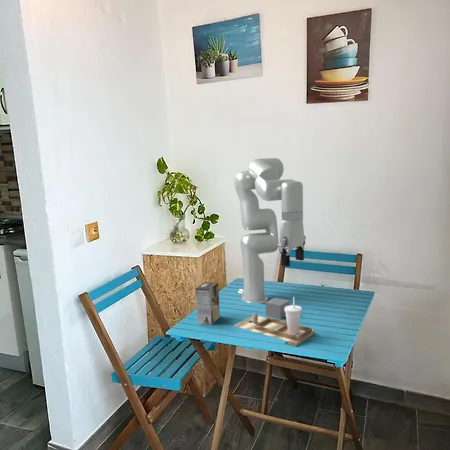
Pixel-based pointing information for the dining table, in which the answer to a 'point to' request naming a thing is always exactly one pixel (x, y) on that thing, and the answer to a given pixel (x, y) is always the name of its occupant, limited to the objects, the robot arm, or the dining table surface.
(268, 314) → the gray cube
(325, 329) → the dining table surface
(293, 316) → the smoothie
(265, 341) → the dining table surface
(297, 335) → the board
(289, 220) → the robot arm
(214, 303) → the coffee box
